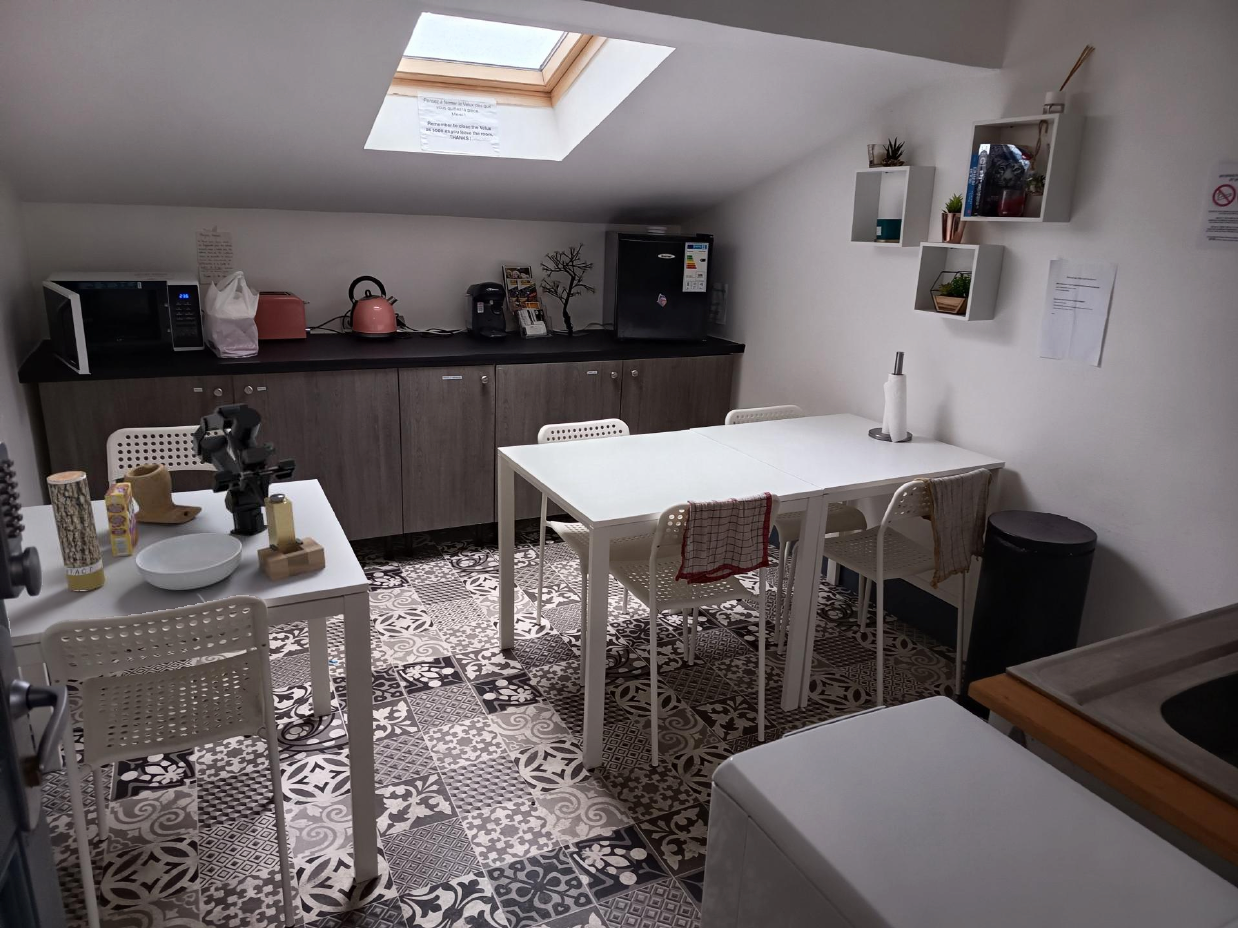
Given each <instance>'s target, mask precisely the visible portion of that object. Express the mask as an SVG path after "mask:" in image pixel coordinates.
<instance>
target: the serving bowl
mask: <svg viewBox="0 0 1238 928" xmlns="http://www.w3.org/2000/svg"><path fill="white" fill-rule="evenodd" d="M242 553H243V544H242V542H241V541H240V540H239V539H238V538H237V537H235V536H232V535H230V534H224V533H218V532H217V533H216V532H211V533H210V532H201V533H199V532H198V533H190V534H184V535H178V536H174V537H173V536H172V537H171V538H165V539H163V540H161V541H157V542H155V543H152V544H150V545H148V546H147V547H145V548H143V549H142V550H140V552H139V553H138V554H137V555H136V557H135V565H136V568H137V570H138V573H139V574H140V575H141V577H142V578H143V579H144V580H145V581H146V582H148V583H149V584H151V585H153V586H155V587H157V588H160V589H165V590H171V591H184V590H192V589H193V590H194V589H199V588H203V587H204V588H205V587H207V586H211V585H213V584H216V583H217V582H220V581H223V580H224V579H225V578H227V577H228V576H229V575H231V574H232V573H233V572H234V571H235V570H236V569H237V567H238V566H239V564H240V562H241V558H242V555H243V554H242Z"/></svg>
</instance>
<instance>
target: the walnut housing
mask: <svg viewBox="0 0 1238 928" xmlns="http://www.w3.org/2000/svg"><path fill="white" fill-rule="evenodd" d="M295 538H296V537H295ZM296 548H297V552H294V553H290V554H286V555H284V554H283V553H281V552H280V551H279V548H278V547H277V546H276V545H274V544H271V545H268V547H263V548H261V549H257V559H258V566H259V570H260V571H261V572H262V573H263V575H265V576H266V578H268V579H269V580H270V581H271V582H277V581H280V580H284V579H287V578H291V577H294V576H298V575H302V574H306V573H308V572H313V571H316V570H320V569H323V568H326V566H327V565H326V558H325V548H324V547H323V546H322V545H320V544H319V543H318V542H317V541H316V540H315V539H313V538H312V537H311V536H310V537H304V538H299V537H297V538H296Z"/></svg>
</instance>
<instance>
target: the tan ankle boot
mask: <svg viewBox="0 0 1238 928" xmlns="http://www.w3.org/2000/svg"><path fill="white" fill-rule="evenodd" d="M123 483H130V484H131V492H132V499H133V501H135V503H136V504H137V506H138V511H136V512H134V513H135V519H136V522H142V523H143V522H144V523H156V524H157V523H158V524H160V523H161V524H181V523H186V522H188V521H191V520H192V519H193V518H195V517H197V516H198V515H199V514H200V513H201V512H202V511H203V508H202V506H192V505H184V504H177V503H176V504H175V502H174V500H173V497H172V496H173V495H172V488H173V487H172V486H173V485H172V478H171V475H170V471H169V470H168V468H167V467H166V466H165V465H164V464H162V463H159V462H156V463H153V464H148V463H147V464H141V465H138V466H135V467H133V468H131V469H130V470H128V471H127V472H125V473H124V474H123Z"/></svg>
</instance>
